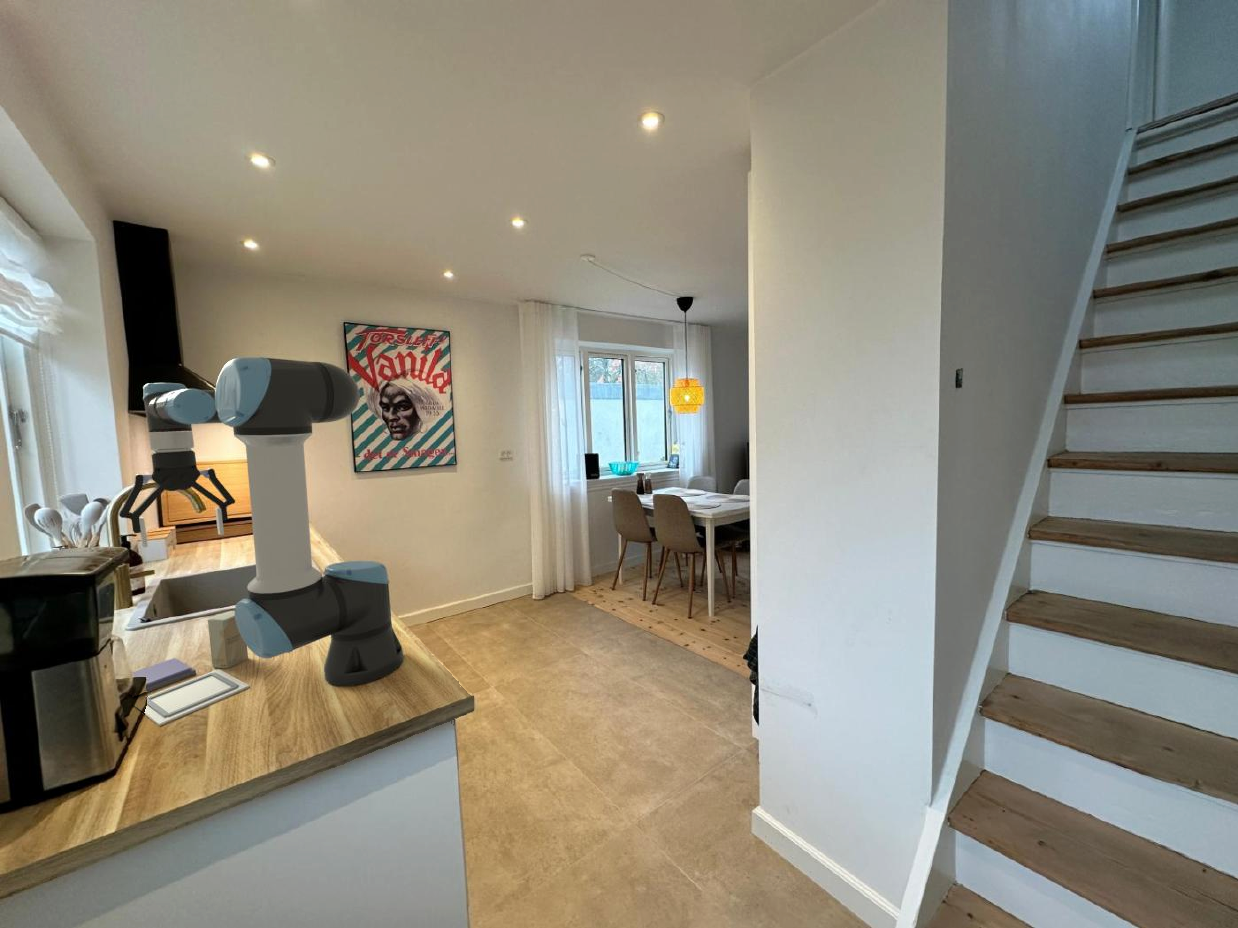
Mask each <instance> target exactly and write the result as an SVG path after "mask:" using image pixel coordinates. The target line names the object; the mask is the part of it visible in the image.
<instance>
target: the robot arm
mask: <svg viewBox="0 0 1238 928" xmlns="http://www.w3.org/2000/svg"><path fill="white" fill-rule="evenodd" d="M142 389H143V397H142V400H143V402H144V410H145V415H146V423H147V430H148V438H149V445H150V450H151V451H154V452H152V454H151V461H152V462H151V463H152V469H153V470H152V474H141V473H136V474H135V476H134V485H133V487H132V489H131V491H130V492H129V494H128V496H127V498H126V500H125V501H124V504H123V506H122V507H121V509H120V511H119V513H118V515H119V517H120V518H122V519H129V520H131V525H132V532H133V533H134V534H140V538H141V539H140V540H141V547H142V548H148V547H149V545H148V538H147V537H148V536H147V531H146V525H145V518H144V517H143V516H142V515H143V514H144V512H145V511H147V509H148V508H149V507H150V506H151V505H152V504H153V503H154V502H155V501H156V499H158V498H159V496H160V495H162V493H164V492H165V491H168V492H175V491H178V490H181V491H186V490H187V491H188V490H190V489H191V488H193V489H194V490H195V491H197V492H199V494H202V496H204V497H206V498H207V499H209V500H210V501H211V502H212V503H214V504H215V505H217V506H218V507H215V508H214V511H215V519H216V520H215V521H216V527H217V534H218V535H220V536H223V535H225V529H224V522H223V521H227V520H228V510H227V508H228V507H229V506H230V505H234V504H235V503H236V500H235V498H234V497H233V496H232V495H231V494H230V492H229V491H228V490H227V488H226V487H225V486H224V485H223V484H222V483H221V481H220V480H219V479H218V478H217V475H216V472H215V469H214V468H212V467H211V468H210V467H208V468H207V469H202V470H199V469H198V467H197V458H196V452H195V451H194V450H192V449H194V448H195V444H194V443H195V442H194V435H193V427H192V426H193V425H199V424H201V425H202V424H205V425H206V424H224V425H225V426H228V427H230V428H233V429H232V430H233V436H234V437H235V438H236V439H238V440H239V441H241V442H242V443H243V444H244V445H245V452H246V463H247V476H248V477H247V479H248V486H249V487H248V488H249V489H248V490H249V498H250V499H249V500H250V509H251V524H252V534H253V536H252V537H253V546H254V558H255V570H256V576H255V577H254V578H252V579H251V581H250V582H249V583H248V584H247V585H246V586H247V598H246V597H244V598H242V599H241V600H240V601H237V603H236V604H235V608H234V611H235V620H236V624H237V627H238V630H239V632H240V635H241V637H242V639H243V640H244V642H245V644H246V645H247V649H249V651H251V652H252V653H253V654H254V655H255V656H257V657H259V658H262V659H272V658H275V657H278V656H282V655H283V654H286V653H287V654H289V653H291V652H293V651H294V650H297V649H300V648H302V647H304V646H307V645H309V644H312V643H314V642H317V641H319V640H322V639H325V638H326V637H329V636H330V644H329V646H328V652H327V655H326V657H325V661H324V662H325V663H324V667H323V670H324V679H325V681H326V682H327V683H328V684H331V685H333V686H339V687H348V686H349V687H351V686H358V685H362V684H367V683H370V682H374V681H376V680H379V679H383V678H385V677H386V676H388V675H390V674H391V673H393V672H395V671H396V670H397V669H398V668H399V667H400V666H401V665H402V664H403V662H404V651H403V647H402V644H401V643H400V641H399V638H398V636H397V635H396V632H395V630H394V628H393V625H392V623H393V622H392V611H391V599H390V585H389V584H390V581H389V576H388V570H387V567H386V566H385V565H384V564H383V563H381V562H378V561H372V560H350V561H342V562H336V563H331V564H329V565H326V567H325V568H324V571H323V574H322V572H321V571H319V570H318V569H317V568H315V567H313V561H312V558H313V557H312V547H311V545H312V544H311V530H310V516H309V504H308V500H309V499H308V490H307V489H308V488H307V487H308V486H307V474H306V461H305V457H306V456H305V446H304V444H305V443H306V441H307V440H308V439H309V438H310V437H311V436H313V424H322V423H325V424H326V423H332V422H337V421H341V420H343V419H345V418H347V417H349V416H350V415H351V414H352V413H353V412H355V410H356V408H357V407H358V405H359V403H360V390H359V385H358V384H357V382H356V380H355V379H354V377H353V375H351V374H350V373H349V372H348V371H346V370H344V369H343V368H342V367H339V366H337V365H334V364H332V363H328V362H321V361H306V360H305V361H304V360H294V359H286V358H285V359H284V358H283V359H282V358H271V357H263V356H259V357H236V358H233V359H231V360H229V361H228V362H227V363H226V364H225V365H224V366H223V368H222V369H221V370H220V373H219V375H218V377H217V381H216V385H215V390H212V389H211V390H209V389H198V388H187V387H186V385H185V384H183V383H177V382H175V383H174V382H153V383H152V382H151V383H146V384H145V385H143V387H142ZM200 476H203V477H204V478H205V479H209V481H210V482H211V484H212V485H213V486H214V487H215V489H216V490H217V491H218V492H219V493H220V495H221V496H222V497H223V499H224V500H222V499H220V498H219V497H217V496H216V495H214V494H213V493H212V492H211V491H209V490H208V489H206V488H205V487H203V486H202V485H201V484H200V483H198V482H197V480H198V479H199V478H200ZM149 480H152V481H153V482H154V483H156V484H157V486H156V487H155V488H154V489H153V490H152V491H151V493H150V494H149V495H148V496H147V497H146V498H144V500H143V501H142V502H141V503H140V504H139V505H138V506H137V507H136V508H135V510H133V511H131V510H132V507H133V506H134V504H135V502H136V500H137V499H138V497H139V494H140V493H141V491H142V489H143V487H144V485H146V484H148V482H149ZM130 511H131V512H130ZM323 575H324V576H323Z"/></svg>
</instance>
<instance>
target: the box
mask: <svg viewBox="0 0 1238 928" xmlns="http://www.w3.org/2000/svg"><path fill="white" fill-rule="evenodd" d="M207 626H208V634H209V635H208V636H209V637H208V638H209V646H210V647H209V648H210V655H211V665H212V666H211V667H212V668H217V669H229V668H231V667H233V666H235V665H238V664H239V663H242V662H243V661H246V660H248V659H249V653H248V646H247V645H246V644H245V642H244V640H243V639H242V637H241V635H240V632H239V630H238V627H237V624H236V620H235V610H233V611H232V610H229V611H226V612H224V613H220V614H218V615H216V616H213V617H211V618H209V619H207Z"/></svg>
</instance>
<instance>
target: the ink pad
mask: <svg viewBox="0 0 1238 928" xmlns="http://www.w3.org/2000/svg"><path fill="white" fill-rule="evenodd" d="M196 671H197V670H196V669H195V668H194V667H192V666H190V665H188V664H186V663H185V662H184V661H183V662H182V661H181V660H180V659H178V658H175V657H174V658H171V659H168V660H165V661H161V662H159V663H156V664H153V665H150V666H148V667H147V666H146V667H144V668H141V669H139V670H135V671H133V672H131V673H133V676H134V677H146V679H147V681H146V691H147V693H149V692H151V691H154V690H157V689H158V690H159V689H161V688H162V687H166V686H168V685H171V684H174V683H176V682H178V681H181V680H183V679H187V678H189V677H191V676H194V675H196V674H197V672H196Z"/></svg>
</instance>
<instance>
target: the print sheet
mask: <svg viewBox="0 0 1238 928" xmlns="http://www.w3.org/2000/svg"><path fill="white" fill-rule="evenodd" d="M249 688H250V684H247V683H246V682H244V681H242V680H240V679H238V678H236V677H234V676H232V675H230V674H229V673H227V672H225V671H223V670H221V668H217V669H215V670H213V671H211V672H210V671H209V672H208V673H205V674H203V675H200V676H197V677H195V678H192V679H189V680H187V681H185V682H181V683H179V684H175V685H174V686H171V687H168V688H166V689H163V690H161V691H158V692H155V693H153V694H150V695H147V696H148V697H147V696H146V697H147V706H146V709H145V712H144V713H145V715H144V716H145V717H147V718H148V719H149V720H151V721H152V722H153V723H155V724H156V725H157V726H158V727H160V726H162V725H165V724H168V723H170V722H173V721H174V720H177V719H179V718H181V717H184V716H186V715H188V714H191V713H193V712H196V711H197V710H200V709H203V708H206V707H207V706H210V705H212V704H214V703H216V702H219V701H221V700H224V699H226V698H229V697H230V696H233V695H235V694H238V693H240V692H241V691H244V690H247V689H249Z"/></svg>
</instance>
